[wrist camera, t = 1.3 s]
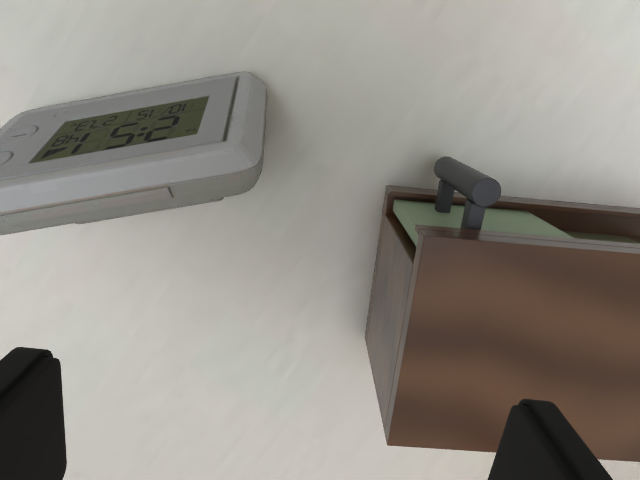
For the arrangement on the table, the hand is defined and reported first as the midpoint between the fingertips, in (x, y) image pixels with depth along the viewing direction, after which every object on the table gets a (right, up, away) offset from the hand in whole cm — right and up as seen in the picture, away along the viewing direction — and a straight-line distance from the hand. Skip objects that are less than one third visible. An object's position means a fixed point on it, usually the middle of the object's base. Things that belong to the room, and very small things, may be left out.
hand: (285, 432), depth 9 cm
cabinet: (+14, +1, +24) cm, 27 cm away
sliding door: (+10, +7, +20) cm, 24 cm away
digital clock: (-10, +11, +20) cm, 25 cm away
